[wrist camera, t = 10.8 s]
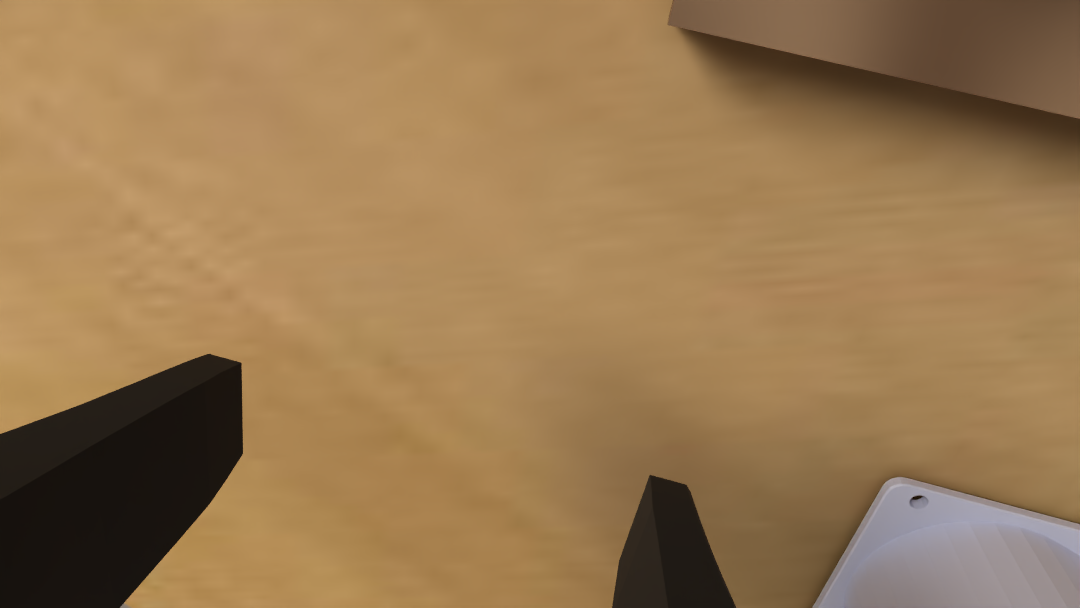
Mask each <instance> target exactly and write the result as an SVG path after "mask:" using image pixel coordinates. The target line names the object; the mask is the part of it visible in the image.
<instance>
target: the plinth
mask: <svg viewBox="0 0 1080 608" xmlns="http://www.w3.org/2000/svg"><path fill="white" fill-rule="evenodd" d="M668 25H671V26H675V27H679V28H684V29H688V30H692V31H697V32H701V33H706V34H710V35H714V36H719V37H723V38H728V39H732V40H736V41H741V42H745V43H750V44H754V45H758V46H763V47H767V48H771V49H776V50H780V51H785V52H789V53H793V54H798V55H802V56H807V57H811V58H815V59H820V60H824V61H828V62H833V63H837V64H842V65H846V66H850V67H855V68H859V69H864V70H868V71H872V72H877V73H881V74H885V75H890V76H894V77H899V78H903V79H907V80H912V81H916V82H921V83H925V84H929V85H934V86H938V87H942V88H947V89H951V90H956V91H960V92H964V93H969V94H973V95H978V96H982V97H986V98H991V99H995V100H999V101H1004V102H1008V103H1013V104H1017V105H1021V106H1026V107H1030V108H1035V109H1039V110H1043V111H1048V112H1052V113H1057V114H1061V115H1065V116H1070V117H1074V118H1078V119H1080V0H673V3H672V7H671V11H670V15H669V20H668Z"/></svg>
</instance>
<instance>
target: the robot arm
mask: <svg viewBox="0 0 1080 608" xmlns="http://www.w3.org/2000/svg"><path fill="white" fill-rule="evenodd" d="M242 454H243V429H242V370H241V363H240V362H237V361H233V360H229V359H226V358H222V357H218V356H215V355H211V354H207V355H204V356H201V357H198V358H195V359H193V360H190V361H187V362H185V363H182V364H180V365H177V366H175V367H172V368H170V369H167V370H165V371H162V372H160V373H158V374H155V375H153V376H150V377H148V378H145V379H143V380H141V381H138V382H136V383H133V384H131V385H128V386H126V387H123V388H121V389H119V390H116V391H114V392H111V393H109V394H106V395H104V396H101V397H99V398H96V399H94V400H91V401H89V402H86V403H84V404H81V405H79V406H76V407H73V408H71V409H68V410H65V411H63V412H60V413H57V414H54V415H52V416H49V417H46V418H43V419H41V420H38V421H35V422H32V423H30V424H27V425H24V426H22V427H19V428H16V429H13V430H11V431H8V432H5V433H2V434H0V608H120V606H122V604H123V603H124V602H125V601H126V600H127V599H128V598H129V596H130V595H131V594H132V593H133V592H134V591H135V590H136V588H137V587H138V586H139V585H140V584H141V583H142V581H143V580H144V579H145V578H146V577H147V576H148V575H149V573H150V572H151V571H152V570H153V569H154V568H155V567H156V565H157V564H158V563H159V562H160V561H161V560H162V559H163V557H164V556H165V555H166V554H167V553H168V552H169V551H170V549H171V548H172V547H173V546H174V545H175V544H176V543H177V541H178V540H179V539H180V538H181V537H182V536H183V534H184V533H185V532H186V531H187V530H188V529H189V527H190V526H191V525H192V524H193V523H194V522H195V520H196V519H197V518H198V517H199V516H200V515H201V513H202V512H203V511H204V510H205V509H206V507H207V506H208V505H209V504H210V503H211V501H212V500H213V498H214V497H215V495H216V494H217V492H218V491H219V490H220V488H221V487H222V485H223V484H224V482H225V481H226V479H227V478H228V476H229V475H230V473H231V471H232V470H233V468H234V467H235V465H236V464H237V462H238V461H239V459H240V457H241V456H242ZM917 495H921V496H923V497H922V498H920V499H917V500H911V498H912V497H914V496H917ZM612 608H736V606H735V604H734V602H733V599H732V597H731V595H730V593H729V590H728V588H727V586H726V583H725V581H724V579H723V577H722V574H721V572H720V570H719V567H718V565H717V563H716V560H715V558H714V555H713V553H712V550H711V548H710V545H709V543H708V540H707V537H706V535H705V532H704V529H703V527H702V524H701V521H700V518H699V516H698V513H697V510H696V507H695V504H694V501H693V498H692V495H691V492H690V490H689V489H688V487H687V485H685V484H681V483H678V482H674V481H670V480H667V479H663V478H659V477H656V476H652V475H650V476H649V479H648V482H647V485H646V487H645V490H644V493H643V496H642V499H641V501H640V504H639V507H638V510H637V513H636V515H635V518H634V521H633V524H632V527H631V529H630V532H629V535H628V538H627V541H626V543H625V546H624V549H623V552H622V555H621V557H620V560H619V566H618V573H617V579H616V586H615V592H614V599H613V606H612ZM812 608H1080V524H1077V523H1073V522H1070V521H1066V520H1062V519H1058V518H1055V517H1051V516H1047V515H1044V514H1040V513H1036V512H1032V511H1029V510H1025V509H1021V508H1017V507H1014V506H1010V505H1006V504H1002V503H999V502H995V501H991V500H987V499H984V498H980V497H976V496H973V495H969V494H965V493H961V492H958V491H954V490H950V489H946V488H943V487H939V486H935V485H931V484H928V483H924V482H920V481H917V480H913V479H909V478H904V477H896V478H892V479H890V480H888V481H886V482H885V484H884V485H883V486H882V488H881V489H880V491H879V493H878V495H877V496H876V498H875V500H874V501H873V503H872V505H871V507H870V508H869V510H868V512H867V514H866V515H865V517H864V519H863V521H862V522H861V524H860V526H859V527H858V529H857V531H856V533H855V534H854V536H853V538H852V540H851V541H850V543H849V545H848V547H847V548H846V550H845V552H844V553H843V555H842V557H841V559H840V560H839V562H838V564H837V566H836V567H835V569H834V571H833V573H832V574H831V576H830V578H829V579H828V581H827V583H826V585H825V586H824V588H823V590H822V592H821V593H820V595H819V597H818V599H817V600H816V602H815V604H814V605H813V607H812Z"/></svg>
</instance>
